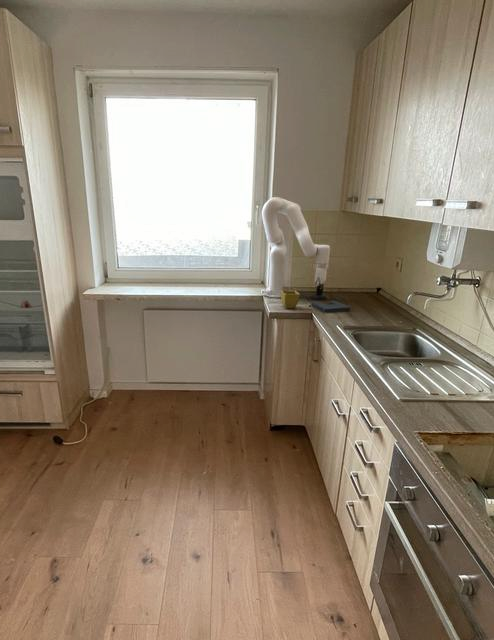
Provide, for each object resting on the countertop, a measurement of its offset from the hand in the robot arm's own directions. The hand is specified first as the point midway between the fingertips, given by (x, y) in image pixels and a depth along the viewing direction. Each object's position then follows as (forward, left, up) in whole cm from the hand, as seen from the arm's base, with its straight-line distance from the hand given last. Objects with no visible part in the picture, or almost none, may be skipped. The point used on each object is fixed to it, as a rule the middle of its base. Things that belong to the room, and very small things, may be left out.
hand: (319, 294), depth 264 cm
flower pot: (-28, -16, -3) cm, 32 cm away
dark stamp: (0, 0, -3) cm, 3 cm away
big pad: (-5, -23, -3) cm, 24 cm away
